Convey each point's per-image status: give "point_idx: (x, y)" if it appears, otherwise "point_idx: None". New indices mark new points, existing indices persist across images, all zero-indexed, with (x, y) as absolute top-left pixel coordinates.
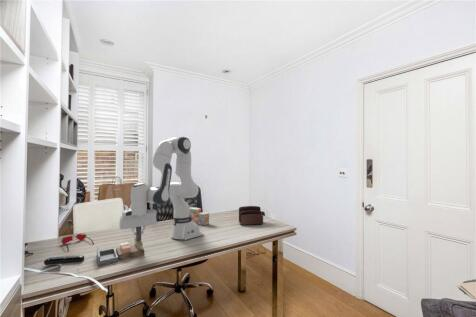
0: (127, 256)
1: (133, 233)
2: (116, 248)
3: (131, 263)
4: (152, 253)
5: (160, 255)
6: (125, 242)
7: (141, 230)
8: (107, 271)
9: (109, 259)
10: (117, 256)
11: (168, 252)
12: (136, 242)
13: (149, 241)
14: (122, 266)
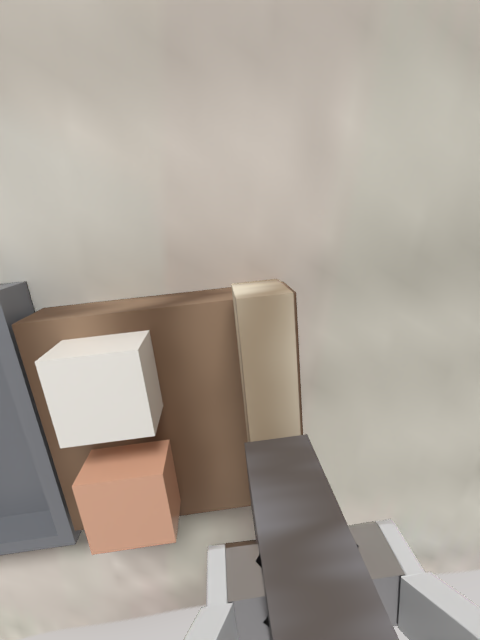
0: None
1: (209, 580)
2: (20, 349)
3: (189, 565)
4: (359, 459)
5: (400, 516)
6: (107, 359)
7: (384, 598)
8: (39, 616)
9: (7, 549)
10: (68, 531)
11: (470, 488)
12: (249, 441)
13: (427, 89)
14: (130, 585)
